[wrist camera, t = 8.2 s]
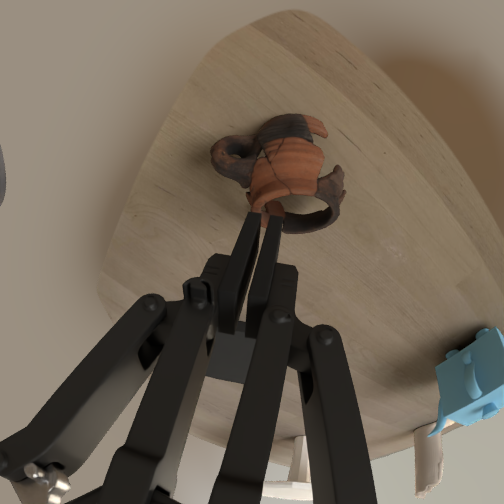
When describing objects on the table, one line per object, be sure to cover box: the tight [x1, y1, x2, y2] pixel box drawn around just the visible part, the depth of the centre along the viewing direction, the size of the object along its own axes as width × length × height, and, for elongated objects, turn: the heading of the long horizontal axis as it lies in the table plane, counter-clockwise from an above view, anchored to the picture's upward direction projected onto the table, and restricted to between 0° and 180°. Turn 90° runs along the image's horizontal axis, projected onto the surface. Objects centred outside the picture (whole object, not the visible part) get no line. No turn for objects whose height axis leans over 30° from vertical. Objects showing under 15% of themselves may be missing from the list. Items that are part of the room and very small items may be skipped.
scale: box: [205, 321, 256, 384], centre depth 45 cm, size 18×16×4 cm
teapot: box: [427, 326, 504, 437], centre depth 35 cm, size 18×16×13 cm
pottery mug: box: [210, 114, 346, 234], centre depth 26 cm, size 12×10×8 cm
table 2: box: [262, 436, 313, 500], centre depth 60 cm, size 28×28×17 cm
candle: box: [414, 418, 455, 499], centre depth 48 cm, size 7×14×20 cm, turn 132°
